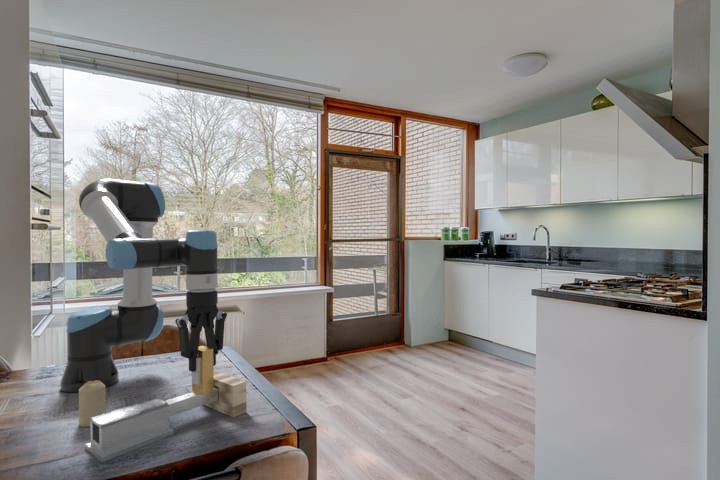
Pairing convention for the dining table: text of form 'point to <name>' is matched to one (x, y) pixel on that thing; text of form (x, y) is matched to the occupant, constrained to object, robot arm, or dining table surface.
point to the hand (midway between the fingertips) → (202, 381)
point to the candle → (91, 401)
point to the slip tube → (197, 386)
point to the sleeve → (128, 429)
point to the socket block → (229, 395)
